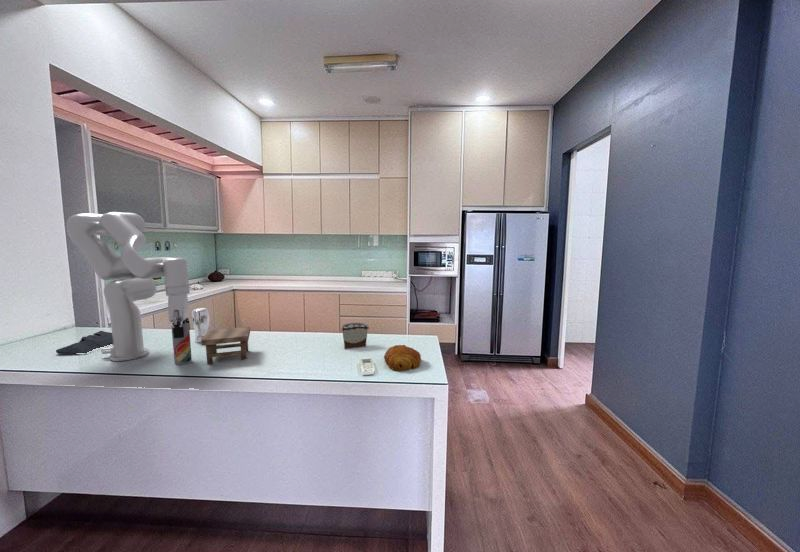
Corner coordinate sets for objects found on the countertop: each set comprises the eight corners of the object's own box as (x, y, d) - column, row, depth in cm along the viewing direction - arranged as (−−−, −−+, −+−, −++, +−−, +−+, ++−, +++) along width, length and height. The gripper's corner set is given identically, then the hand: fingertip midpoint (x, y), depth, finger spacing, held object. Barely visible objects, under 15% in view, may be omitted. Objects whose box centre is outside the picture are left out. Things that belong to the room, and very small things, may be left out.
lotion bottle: (189, 364, 130) (185, 313, 127) (172, 365, 128) (167, 314, 125) (193, 358, 135) (189, 309, 132) (177, 360, 133) (173, 310, 131)
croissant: (382, 376, 124) (381, 357, 122) (386, 355, 139) (385, 338, 137) (421, 377, 124) (421, 357, 121) (421, 355, 138) (421, 338, 136)
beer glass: (214, 338, 160) (212, 307, 158) (204, 343, 153) (202, 311, 151) (200, 338, 161) (198, 307, 159) (190, 342, 154) (187, 310, 152)
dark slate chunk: (47, 357, 137) (46, 345, 137) (92, 339, 159) (91, 330, 158) (87, 356, 138) (86, 345, 138) (126, 339, 160) (125, 329, 159)
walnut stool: (203, 365, 128) (201, 340, 126) (209, 353, 141) (207, 330, 139) (249, 360, 133) (247, 336, 132) (251, 349, 146) (250, 326, 145)
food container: (366, 342, 156) (365, 321, 155) (369, 346, 150) (369, 324, 149) (339, 345, 152) (338, 323, 151) (341, 349, 146) (341, 327, 145)
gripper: (172, 287, 134) (176, 329, 137) (158, 294, 118) (164, 341, 120) (194, 286, 137) (198, 327, 139) (183, 293, 121) (188, 339, 123)
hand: (182, 334), depth 130 cm, fingers open, 9 cm apart
